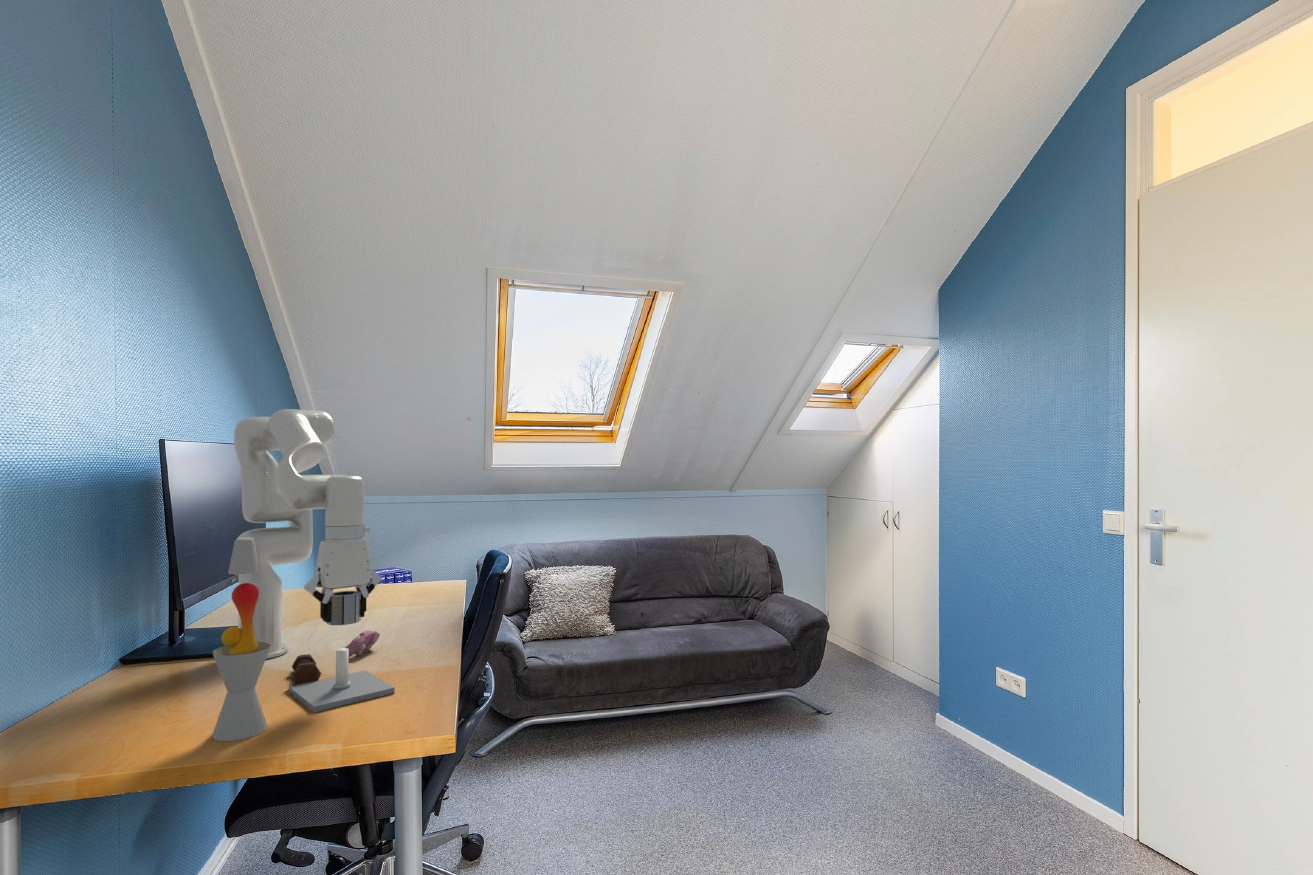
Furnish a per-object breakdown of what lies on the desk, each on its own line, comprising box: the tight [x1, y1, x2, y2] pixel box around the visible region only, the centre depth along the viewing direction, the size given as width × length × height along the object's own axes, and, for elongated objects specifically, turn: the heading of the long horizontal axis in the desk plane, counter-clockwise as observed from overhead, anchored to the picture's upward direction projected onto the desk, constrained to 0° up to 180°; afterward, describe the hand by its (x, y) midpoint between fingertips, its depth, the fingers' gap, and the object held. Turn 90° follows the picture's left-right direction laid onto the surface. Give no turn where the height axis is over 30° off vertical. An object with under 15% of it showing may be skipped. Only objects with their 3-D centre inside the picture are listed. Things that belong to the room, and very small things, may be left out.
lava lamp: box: [211, 537, 270, 742], centre depth 124 cm, size 9×9×35 cm
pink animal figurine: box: [344, 629, 381, 658], centre depth 172 cm, size 10×5×7 cm, turn 172°
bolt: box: [290, 654, 322, 685], centre depth 153 cm, size 6×5×15 cm
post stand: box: [288, 647, 396, 714], centre depth 144 cm, size 16×16×9 cm
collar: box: [326, 590, 362, 626], centre depth 144 cm, size 6×6×6 cm
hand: (343, 617), depth 144 cm, fingers closed on collar, 6 cm apart
